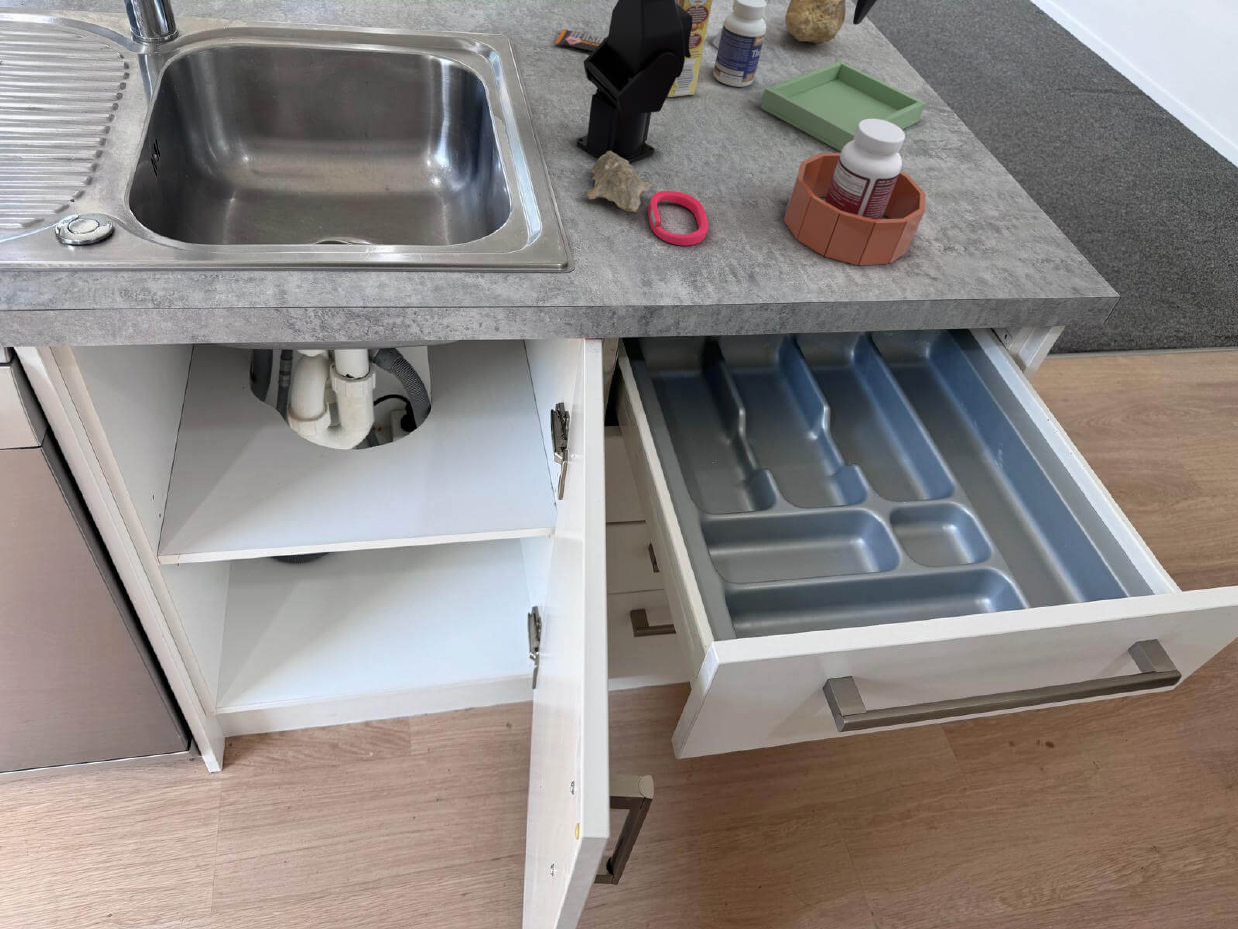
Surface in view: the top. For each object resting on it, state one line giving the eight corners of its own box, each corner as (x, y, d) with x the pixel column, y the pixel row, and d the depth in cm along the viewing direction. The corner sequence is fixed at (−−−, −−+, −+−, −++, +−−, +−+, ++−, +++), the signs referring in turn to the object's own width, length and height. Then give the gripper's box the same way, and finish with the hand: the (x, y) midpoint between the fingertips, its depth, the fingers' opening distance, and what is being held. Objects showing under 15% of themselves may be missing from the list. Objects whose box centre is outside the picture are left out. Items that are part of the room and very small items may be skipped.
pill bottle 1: (751, 91, 113) (770, 12, 106) (710, 82, 113) (727, 2, 106) (754, 74, 117) (774, -3, 110) (715, 65, 117) (732, -13, 110)
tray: (847, 155, 105) (854, 135, 103) (759, 107, 110) (764, 88, 109) (918, 121, 114) (926, 102, 112) (834, 78, 120) (840, 60, 118)
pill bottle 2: (869, 216, 96) (907, 119, 88) (879, 248, 92) (920, 149, 84) (814, 208, 96) (847, 110, 88) (821, 240, 91) (856, 140, 83)
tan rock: (807, 54, 135) (770, 16, 133) (847, 9, 132) (809, -31, 130) (817, 60, 123) (776, 18, 121) (862, 10, 120) (821, -34, 118)
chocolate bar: (553, 45, 114) (554, 39, 114) (562, 31, 118) (563, 25, 117) (636, 64, 114) (637, 58, 113) (642, 49, 117) (643, 43, 117)
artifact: (665, 219, 89) (639, 169, 96) (667, 191, 87) (640, 143, 93) (595, 227, 88) (573, 176, 94) (595, 199, 86) (573, 149, 92)
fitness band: (656, 231, 86) (652, 244, 87) (713, 237, 87) (709, 250, 88) (647, 185, 91) (644, 198, 92) (701, 192, 92) (697, 205, 93)
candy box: (695, 96, 110) (722, -38, 99) (666, 98, 109) (690, -37, 97) (663, 64, 115) (685, -66, 104) (634, 66, 114) (653, -66, 102)
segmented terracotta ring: (862, 280, 87) (880, 237, 84) (760, 217, 93) (773, 174, 89) (929, 238, 95) (949, 196, 91) (831, 182, 100) (845, 140, 96)
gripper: (992, -137, 87) (929, 26, 99) (838, -191, 95) (795, -33, 106) (939, -127, 81) (878, 46, 92) (778, -186, 88) (740, -19, 100)
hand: (822, 7), depth 98 cm, fingers open, 9 cm apart
